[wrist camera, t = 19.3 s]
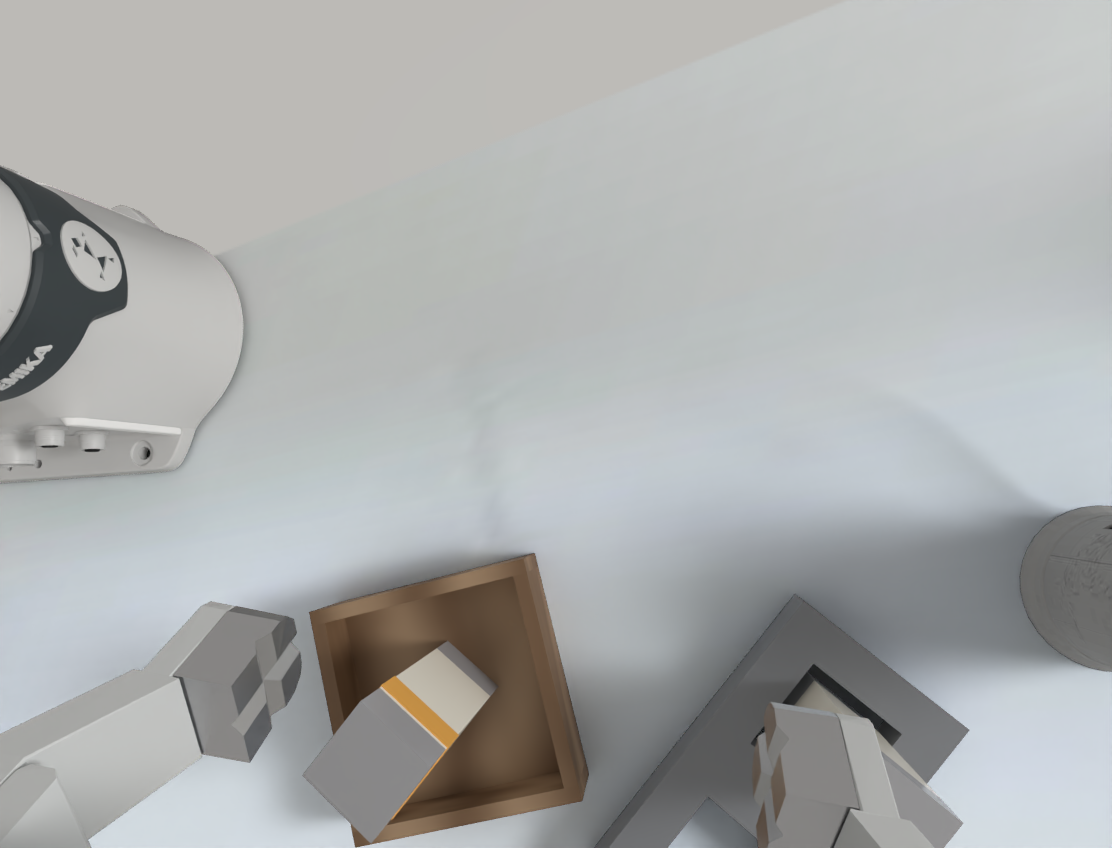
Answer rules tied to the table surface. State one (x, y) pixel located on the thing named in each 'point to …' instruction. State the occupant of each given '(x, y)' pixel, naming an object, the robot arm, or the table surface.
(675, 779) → the fuse block
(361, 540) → the table surface
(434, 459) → the table surface
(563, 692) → the tray
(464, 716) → the block
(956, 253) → the table surface
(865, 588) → the table surface
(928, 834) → the block
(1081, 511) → the grey mug
